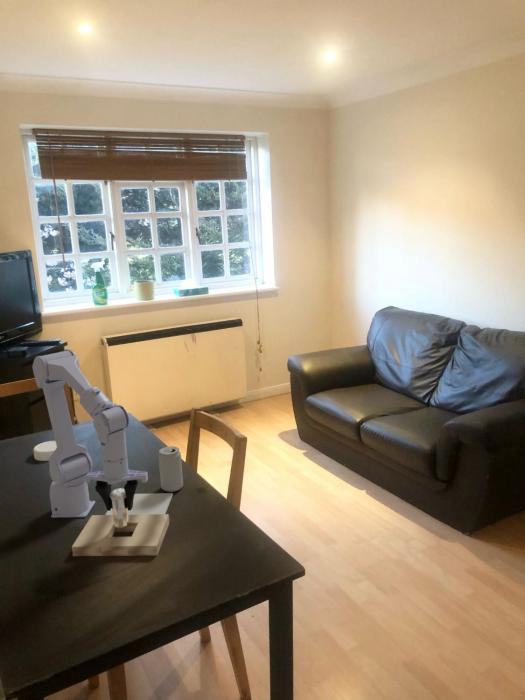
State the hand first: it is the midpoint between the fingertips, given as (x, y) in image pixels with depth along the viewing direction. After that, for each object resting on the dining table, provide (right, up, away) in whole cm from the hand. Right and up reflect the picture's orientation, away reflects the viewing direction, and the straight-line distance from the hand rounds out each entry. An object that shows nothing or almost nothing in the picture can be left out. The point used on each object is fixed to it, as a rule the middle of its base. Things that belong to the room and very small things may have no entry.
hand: (120, 508), depth 133 cm
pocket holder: (0, -8, +2) cm, 8 cm away
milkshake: (0, -5, +1) cm, 5 cm away
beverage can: (+8, -2, +27) cm, 28 cm away
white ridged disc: (-38, +2, +53) cm, 65 cm away
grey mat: (+1, -4, +17) cm, 18 cm away
